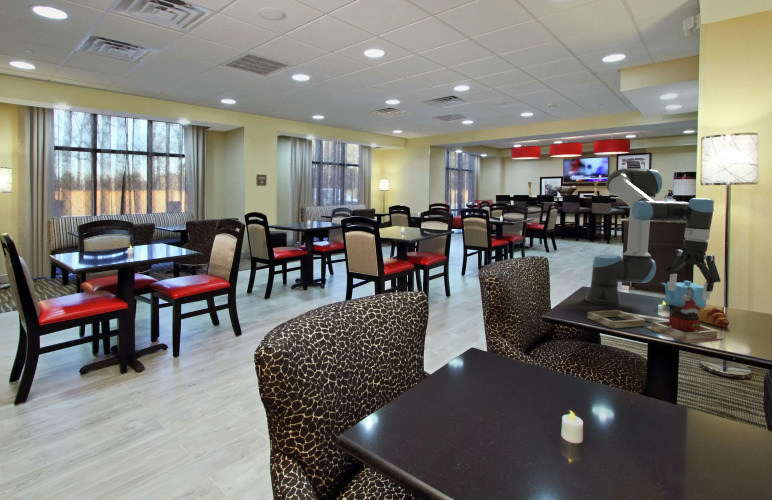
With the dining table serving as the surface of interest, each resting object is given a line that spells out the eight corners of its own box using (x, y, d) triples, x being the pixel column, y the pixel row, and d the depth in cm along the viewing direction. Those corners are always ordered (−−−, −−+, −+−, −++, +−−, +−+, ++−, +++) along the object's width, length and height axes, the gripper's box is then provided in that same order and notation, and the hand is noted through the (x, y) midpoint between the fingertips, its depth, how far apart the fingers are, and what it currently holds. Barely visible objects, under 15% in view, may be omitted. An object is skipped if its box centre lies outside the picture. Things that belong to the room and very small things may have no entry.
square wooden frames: (587, 317, 182) (587, 311, 182) (645, 313, 191) (646, 307, 191) (656, 346, 151) (657, 338, 150) (722, 339, 160) (723, 331, 159)
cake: (682, 327, 171) (688, 283, 168) (705, 335, 162) (712, 289, 159) (661, 329, 168) (667, 284, 166) (682, 337, 159) (689, 290, 157)
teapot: (687, 304, 210) (691, 278, 208) (708, 313, 195) (712, 285, 193) (649, 302, 212) (652, 276, 210) (666, 310, 197) (670, 283, 195)
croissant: (688, 321, 193) (681, 305, 193) (710, 312, 192) (703, 296, 191) (719, 336, 172) (711, 319, 172) (744, 326, 171) (736, 308, 170)
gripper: (658, 235, 171) (651, 287, 174) (723, 245, 147) (713, 304, 150) (673, 235, 173) (665, 286, 176) (738, 244, 149) (729, 303, 153)
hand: (687, 294), depth 163 cm, fingers open, 13 cm apart
